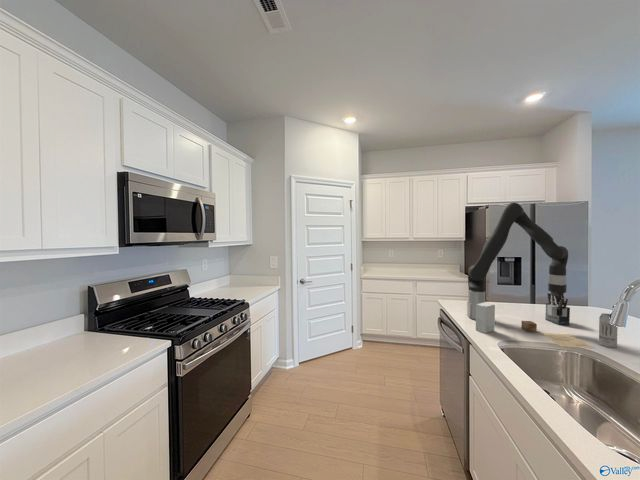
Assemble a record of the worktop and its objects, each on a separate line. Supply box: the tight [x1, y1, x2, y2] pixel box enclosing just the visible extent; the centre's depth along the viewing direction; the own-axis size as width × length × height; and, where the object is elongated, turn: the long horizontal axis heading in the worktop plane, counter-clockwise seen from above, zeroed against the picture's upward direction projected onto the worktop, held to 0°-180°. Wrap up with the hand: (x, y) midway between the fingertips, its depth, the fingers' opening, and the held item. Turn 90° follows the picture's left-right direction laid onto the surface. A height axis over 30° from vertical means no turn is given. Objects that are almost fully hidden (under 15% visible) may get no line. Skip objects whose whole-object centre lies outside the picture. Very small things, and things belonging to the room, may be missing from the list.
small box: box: [545, 302, 571, 326], centre depth 166 cm, size 11×6×10 cm, turn 179°
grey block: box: [547, 305, 568, 317], centre depth 151 cm, size 7×4×5 cm, turn 78°
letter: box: [539, 332, 596, 350], centre depth 139 cm, size 14×18×1 cm
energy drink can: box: [598, 312, 618, 349], centre depth 132 cm, size 6×6×15 cm
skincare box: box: [475, 301, 496, 334], centre depth 153 cm, size 8×6×15 cm
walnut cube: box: [521, 320, 538, 334], centre depth 152 cm, size 5×5×5 cm
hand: (556, 314), depth 151 cm, fingers closed on grey block, 4 cm apart
